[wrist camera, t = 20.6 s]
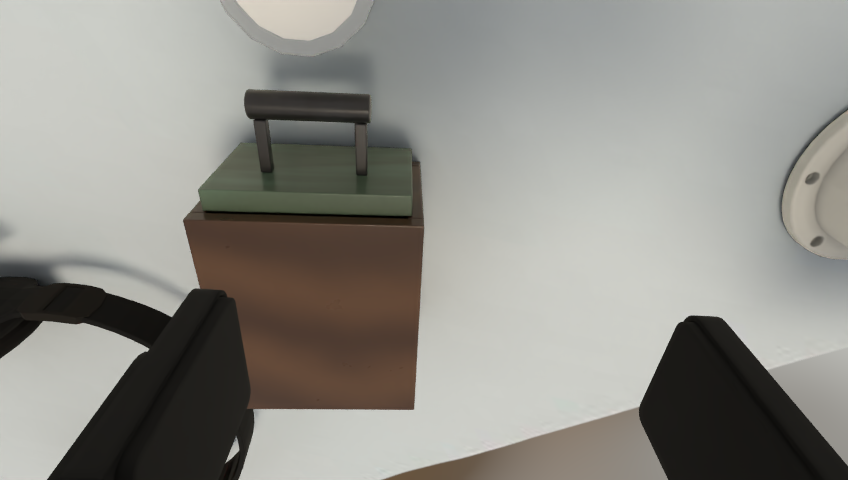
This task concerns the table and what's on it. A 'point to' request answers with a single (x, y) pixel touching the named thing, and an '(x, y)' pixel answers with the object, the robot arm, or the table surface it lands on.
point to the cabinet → (319, 302)
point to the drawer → (311, 164)
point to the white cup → (299, 23)
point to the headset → (74, 303)
